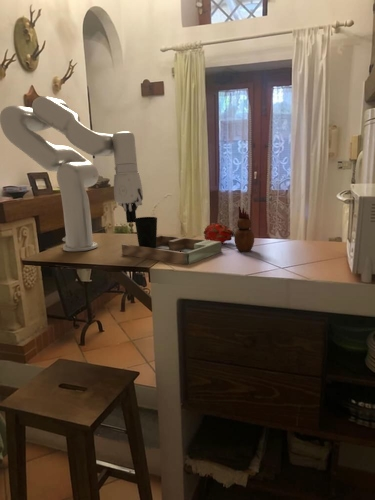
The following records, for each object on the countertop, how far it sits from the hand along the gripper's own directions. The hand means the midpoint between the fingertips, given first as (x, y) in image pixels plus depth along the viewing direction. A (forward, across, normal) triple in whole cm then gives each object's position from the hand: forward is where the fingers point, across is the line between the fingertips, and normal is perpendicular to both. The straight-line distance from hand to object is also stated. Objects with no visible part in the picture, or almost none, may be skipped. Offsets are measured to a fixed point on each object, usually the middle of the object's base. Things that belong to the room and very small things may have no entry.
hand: (131, 222), depth 138 cm
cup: (+11, +7, 0) cm, 13 cm away
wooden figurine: (+12, +35, +18) cm, 41 cm away
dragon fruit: (+11, +21, +24) cm, 33 cm away
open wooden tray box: (+11, +15, +3) cm, 19 cm away
